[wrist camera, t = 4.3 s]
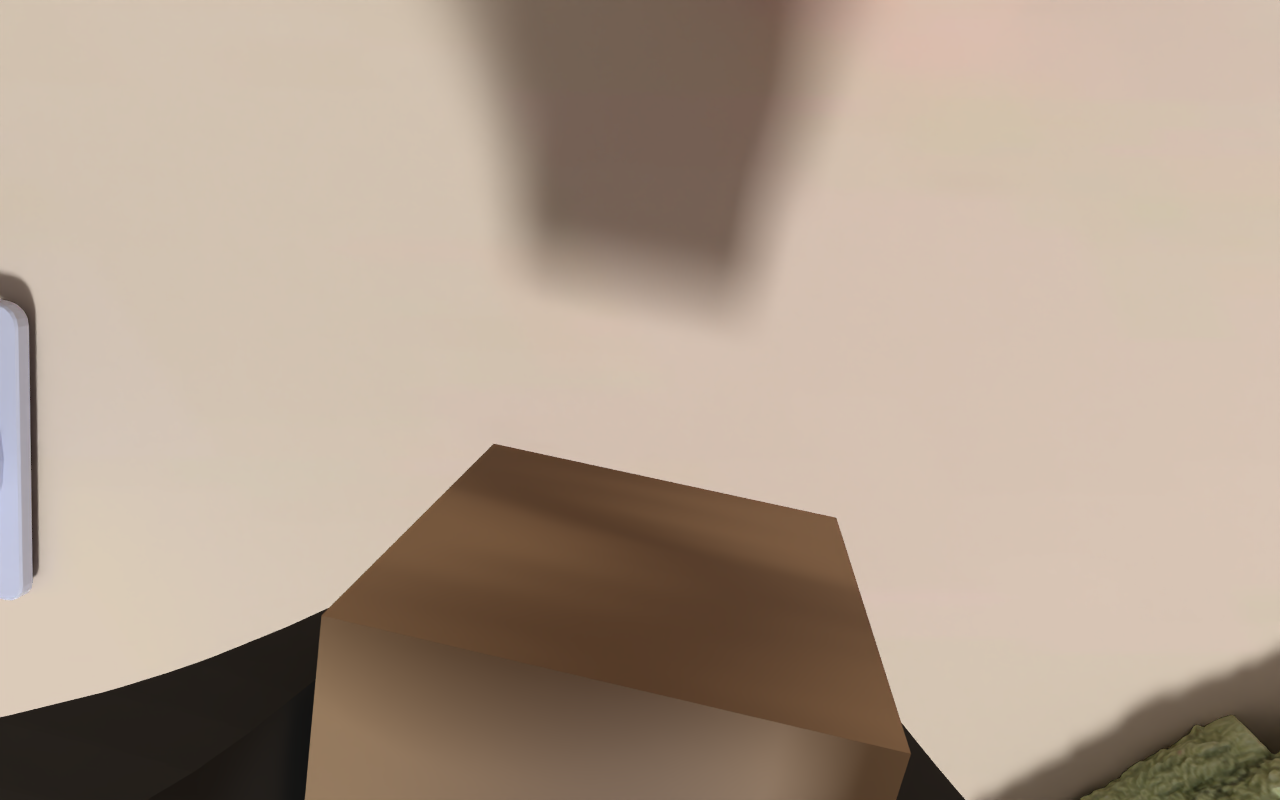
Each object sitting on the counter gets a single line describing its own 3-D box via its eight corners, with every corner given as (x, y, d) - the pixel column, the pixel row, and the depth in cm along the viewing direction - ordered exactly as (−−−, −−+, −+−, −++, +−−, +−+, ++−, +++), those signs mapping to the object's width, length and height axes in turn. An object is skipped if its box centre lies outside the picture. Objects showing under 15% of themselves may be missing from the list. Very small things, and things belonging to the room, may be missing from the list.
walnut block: (451, 734, 13) (281, 1052, 8) (493, 444, 12) (321, 616, 7) (757, 807, 13) (772, 1187, 8) (835, 517, 11) (910, 753, 6)
